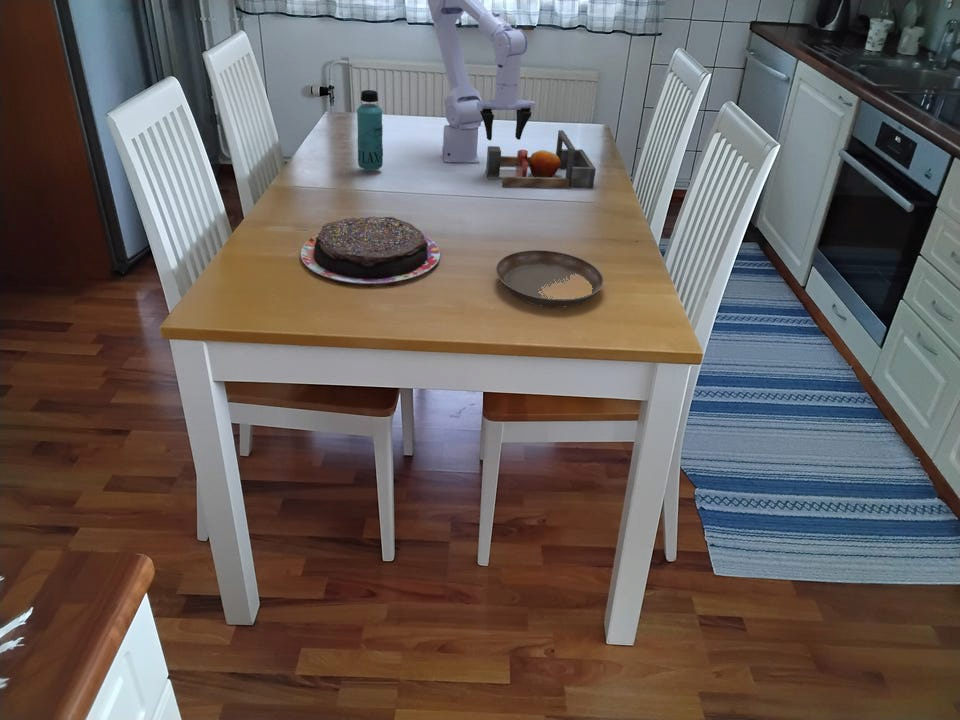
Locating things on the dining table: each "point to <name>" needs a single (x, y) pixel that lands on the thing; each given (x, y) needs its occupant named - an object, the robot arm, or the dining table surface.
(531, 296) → the plant saucer
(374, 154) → the beverage bottle
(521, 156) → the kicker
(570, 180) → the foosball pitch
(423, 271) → the chocolate cake
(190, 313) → the dining table surface
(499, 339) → the dining table surface
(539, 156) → the fruit
